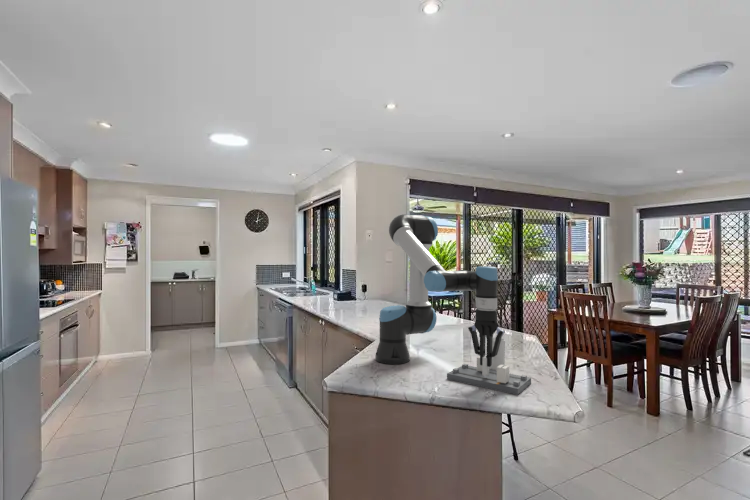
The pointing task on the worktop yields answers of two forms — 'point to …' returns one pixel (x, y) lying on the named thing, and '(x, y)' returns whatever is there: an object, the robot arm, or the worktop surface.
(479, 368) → the fader far
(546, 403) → the worktop surface
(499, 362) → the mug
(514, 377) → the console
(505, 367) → the fader near
